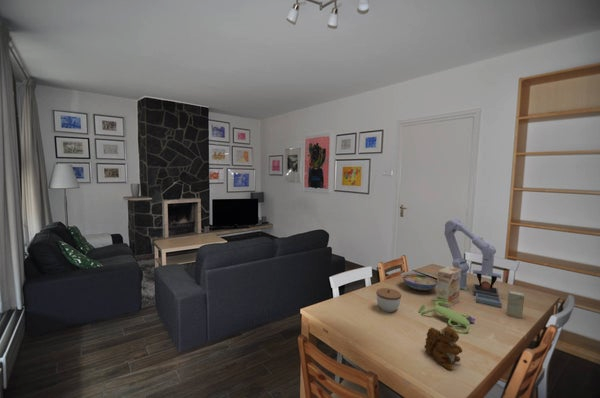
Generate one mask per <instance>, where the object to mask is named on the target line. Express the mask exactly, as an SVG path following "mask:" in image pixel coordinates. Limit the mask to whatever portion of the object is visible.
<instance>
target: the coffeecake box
mask: <svg viewBox="0 0 600 398" xmlns="http://www.w3.org/2000/svg"><path fill="white" fill-rule="evenodd" d="M437 278H438V281H437V286H436V297H435V299H443V300H446V301H447V302H448V305H445V304H441V303H439V304H438V306H442V307H446V308H448V309H450V308H451V307H453V306H454V305H456V304H457V303H458V302H459V301H460V289H461V288H460V279H461V269H460V268H456V267H453V265H449V266H446V267H444V268H441V269H439V270H437ZM435 302H437V301H435ZM442 302H443V301H442Z"/></svg>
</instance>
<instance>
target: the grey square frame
mask: <svg viewBox="0 0 600 398" xmlns="http://www.w3.org/2000/svg"><path fill="white" fill-rule="evenodd" d="M472 286H473V288H472V291H473V292H472V295H473V297H476V293H479V294H484V295H489V296H494V297H499V298H500V294H499V291H498V290H499V289H498V288H497V287H495V286H494V287H492V289H491V288H490V289H488V290H485V289H483V288H482V287H480V284H479V283H478V284H477V283H473V285H472Z"/></svg>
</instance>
